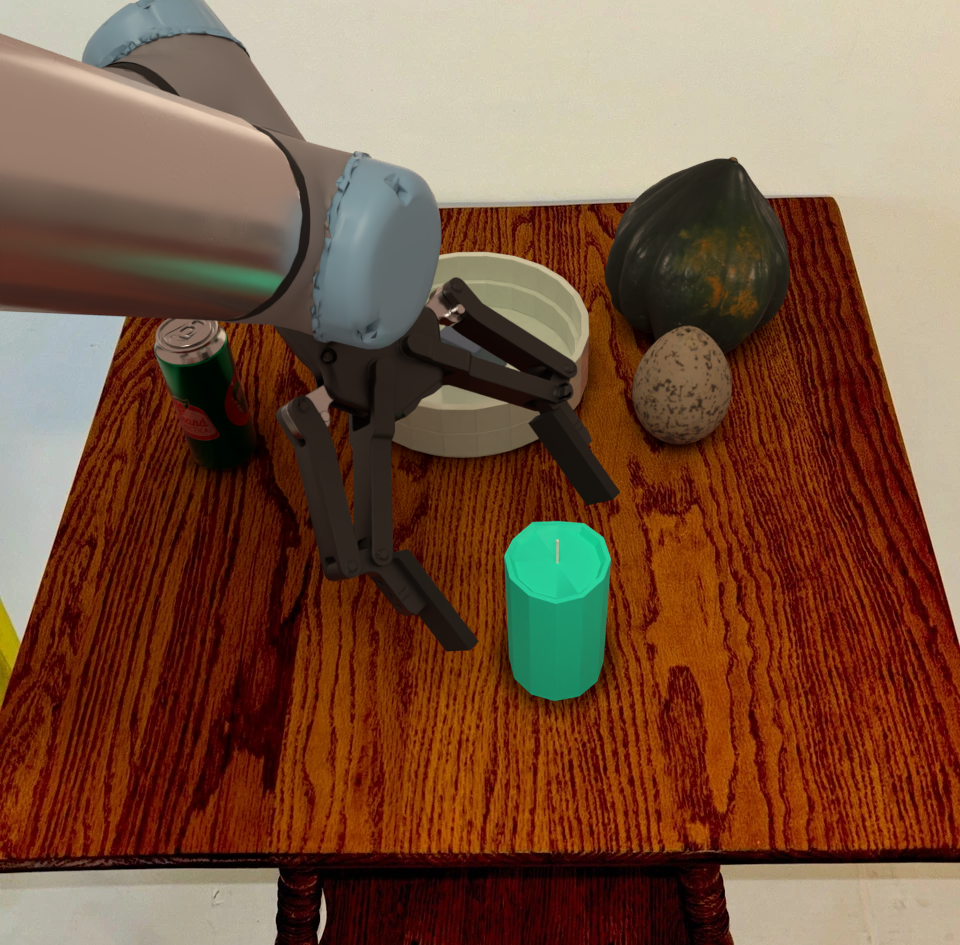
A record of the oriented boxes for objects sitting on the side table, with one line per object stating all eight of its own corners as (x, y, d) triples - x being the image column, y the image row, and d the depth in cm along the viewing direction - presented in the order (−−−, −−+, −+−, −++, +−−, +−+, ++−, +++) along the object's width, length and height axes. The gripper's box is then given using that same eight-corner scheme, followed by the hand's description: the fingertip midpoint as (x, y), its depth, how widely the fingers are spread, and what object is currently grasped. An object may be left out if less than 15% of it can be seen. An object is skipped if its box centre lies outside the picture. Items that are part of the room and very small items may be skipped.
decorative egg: (636, 394, 82) (645, 293, 75) (728, 407, 81) (746, 304, 74) (622, 458, 78) (629, 356, 70) (718, 472, 76) (737, 370, 69)
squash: (584, 334, 79) (732, 193, 71) (565, 229, 90) (692, 97, 82) (709, 417, 86) (858, 297, 78) (678, 310, 96) (806, 195, 88)
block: (477, 391, 82) (474, 353, 80) (438, 372, 84) (434, 334, 81) (507, 364, 85) (506, 326, 82) (469, 346, 86) (466, 308, 83)
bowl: (458, 501, 75) (453, 449, 71) (305, 377, 86) (293, 325, 82) (636, 376, 84) (640, 323, 80) (477, 276, 94) (474, 224, 90)
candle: (620, 647, 66) (631, 527, 58) (572, 717, 63) (576, 601, 54) (541, 606, 69) (540, 485, 60) (490, 671, 66) (482, 553, 57)
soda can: (180, 455, 80) (134, 335, 71) (229, 419, 83) (192, 298, 74) (222, 485, 78) (180, 364, 69) (272, 446, 80) (238, 325, 71)
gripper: (433, 193, 66) (617, 456, 70) (116, 411, 54) (363, 716, 58) (495, 141, 60) (693, 435, 64) (152, 375, 47) (426, 721, 51)
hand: (537, 569), depth 61 cm, fingers open, 13 cm apart
